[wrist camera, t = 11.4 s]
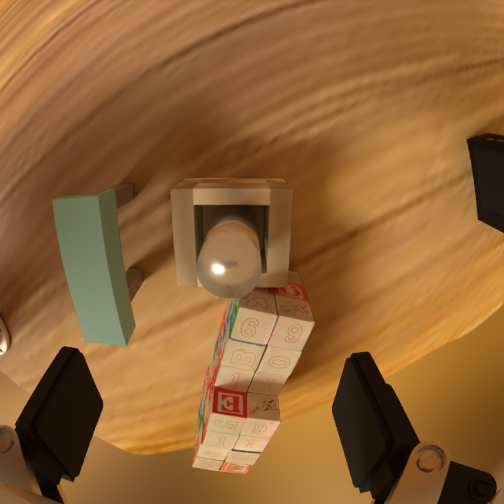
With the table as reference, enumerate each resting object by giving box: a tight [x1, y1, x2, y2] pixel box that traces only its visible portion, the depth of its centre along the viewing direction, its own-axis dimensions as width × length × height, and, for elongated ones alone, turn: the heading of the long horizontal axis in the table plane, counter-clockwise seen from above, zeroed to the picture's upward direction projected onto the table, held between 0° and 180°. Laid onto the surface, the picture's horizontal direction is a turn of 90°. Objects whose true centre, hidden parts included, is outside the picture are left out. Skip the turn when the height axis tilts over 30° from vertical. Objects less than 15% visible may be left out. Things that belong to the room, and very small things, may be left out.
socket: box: [170, 178, 293, 287], centre depth 26 cm, size 9×8×6 cm
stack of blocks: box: [193, 270, 315, 474], centre depth 28 cm, size 21×6×12 cm, turn 164°
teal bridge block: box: [52, 183, 143, 346], centre depth 24 cm, size 4×12×10 cm, turn 179°
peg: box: [196, 205, 262, 298], centre depth 23 cm, size 4×4×10 cm
